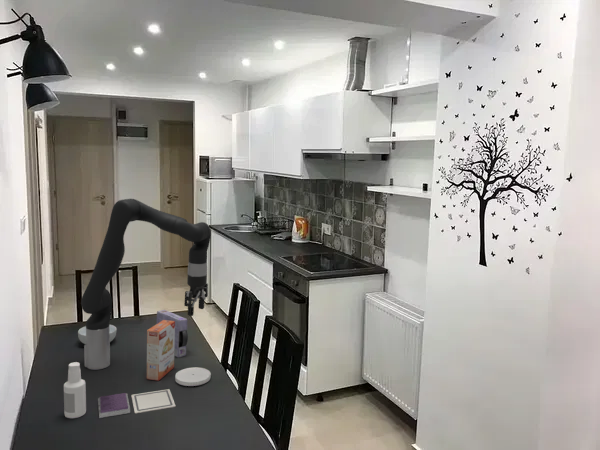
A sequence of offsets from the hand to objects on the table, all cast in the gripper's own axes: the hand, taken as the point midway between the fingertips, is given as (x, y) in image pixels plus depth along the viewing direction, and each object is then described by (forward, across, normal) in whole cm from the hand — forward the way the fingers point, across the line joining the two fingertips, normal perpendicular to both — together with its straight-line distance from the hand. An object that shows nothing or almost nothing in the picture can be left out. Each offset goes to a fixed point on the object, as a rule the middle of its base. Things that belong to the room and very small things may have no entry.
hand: (195, 312), depth 193 cm
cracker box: (+29, +1, -14) cm, 33 cm away
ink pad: (+28, +31, -14) cm, 44 cm away
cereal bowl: (+32, -16, -60) cm, 70 cm away
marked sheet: (+28, +23, -4) cm, 36 cm away
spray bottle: (+28, +40, -23) cm, 54 cm away
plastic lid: (+29, +2, +1) cm, 29 cm away
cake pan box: (+31, -21, -23) cm, 44 cm away
